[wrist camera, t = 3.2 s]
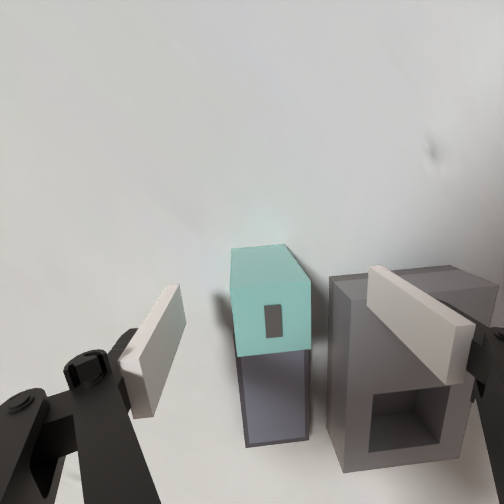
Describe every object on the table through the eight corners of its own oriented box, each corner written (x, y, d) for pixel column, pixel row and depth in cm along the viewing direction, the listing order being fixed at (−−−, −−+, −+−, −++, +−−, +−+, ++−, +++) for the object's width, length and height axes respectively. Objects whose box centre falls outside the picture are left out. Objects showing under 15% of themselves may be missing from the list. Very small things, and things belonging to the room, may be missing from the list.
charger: (231, 248, 19) (229, 290, 12) (284, 244, 19) (312, 282, 12) (236, 296, 20) (237, 359, 13) (286, 291, 20) (312, 351, 13)
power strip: (329, 276, 20) (352, 301, 16) (449, 265, 21) (501, 286, 17) (326, 427, 25) (344, 475, 21) (424, 415, 25) (460, 460, 21)
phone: (245, 437, 25) (245, 449, 23) (233, 330, 21) (233, 338, 20) (306, 429, 25) (309, 441, 24) (304, 322, 21) (308, 330, 20)
